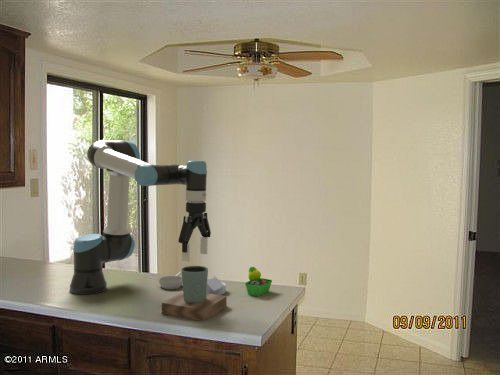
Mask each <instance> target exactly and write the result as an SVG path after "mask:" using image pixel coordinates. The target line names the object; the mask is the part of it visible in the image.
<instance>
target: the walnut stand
mask: <svg viewBox="0 0 500 375" xmlns="http://www.w3.org/2000/svg"><path fill="white" fill-rule="evenodd" d="M227 298H228V296H226V295H223V294H221V295H215V294H209V293H206V300H205V301H204V302H201V303H188V302H185V301H184V297H183V291H182V292H180V293H179V294H177V295H175V296H172V297H170V298H168V299H166V300H164V301H163V302H161V314H164V315H169V316H175V317H180V318H186V319H192V320H198V321H204V322H205V321H206V320H208V319H209V318H211V317H212V316H214V315H215V314H217V313H218V312H220V311H221V310H224V308H226V307H227Z"/></svg>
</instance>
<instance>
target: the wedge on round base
mask: <svg viewBox="0 0 500 375" xmlns="http://www.w3.org/2000/svg"><path fill="white" fill-rule="evenodd" d="M226 286H227V284H226V283H225V282H223V281H220V280H219V278H218V277H216V276H214V277H211V278H209V279H207V290H206V293H209V294H215V295H223V294H225V293H226V290H227V289H226V288H227V287H226Z"/></svg>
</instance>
